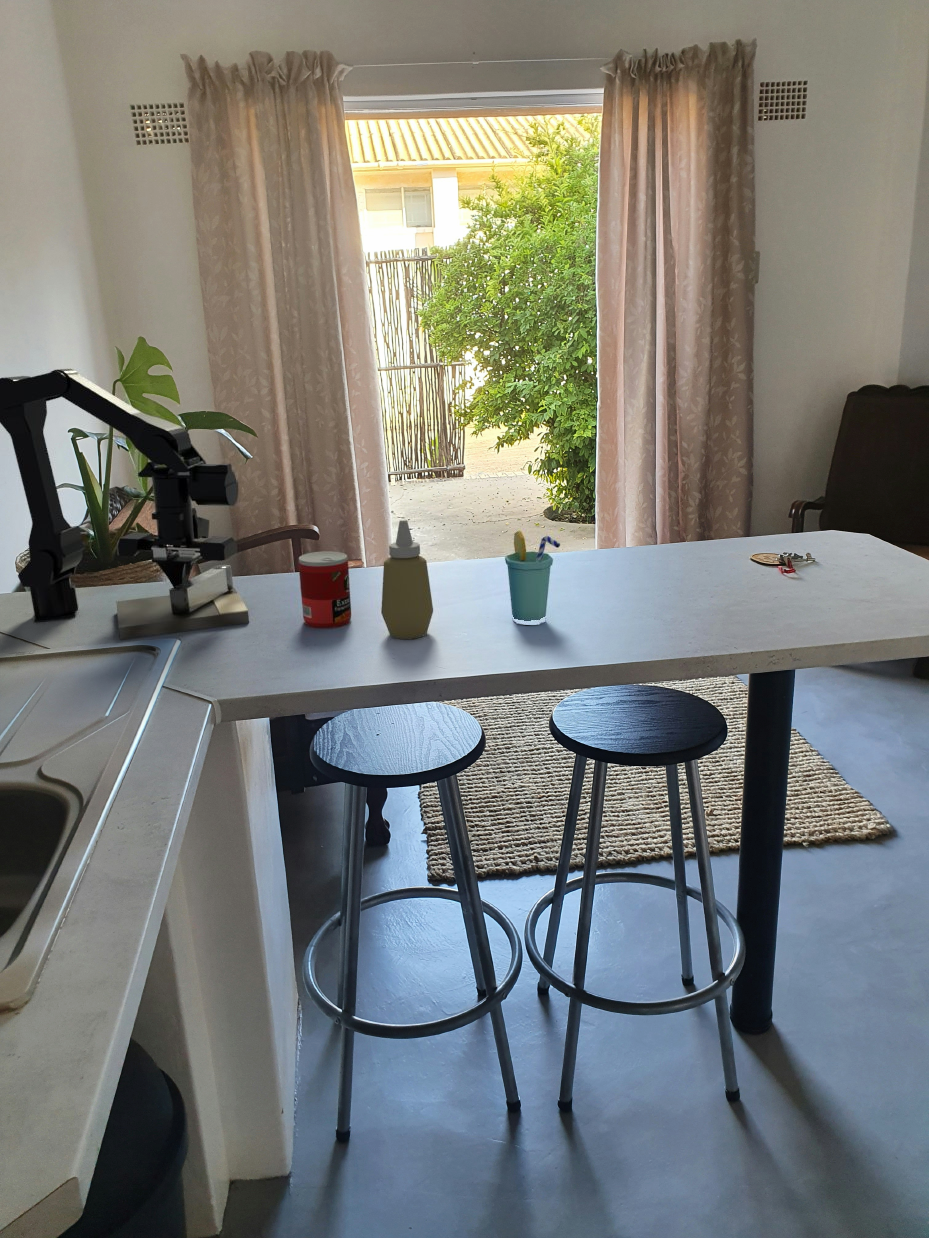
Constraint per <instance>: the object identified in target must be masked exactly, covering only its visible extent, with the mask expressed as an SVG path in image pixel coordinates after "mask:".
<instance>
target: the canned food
mask: <svg viewBox="0 0 929 1238" xmlns="http://www.w3.org/2000/svg"><path fill="white" fill-rule="evenodd" d="M349 569H350V568H349V559H348V555H347V554H346V553H343V552H340V551H329V550H328V551H327V550H326V551H314V552H307V553H305V554H302V555H300V556H299V557H298V573H299V583H300V585H299V587H300V597H301V605H302V606H301V607H302V619H303V621H304V624H305V625H306V626H308V627H311V628H316V629H333V628H338V627H339V628H340V627H342V626H345V625H347V624H348V623H350V622H349V621H351V618H352V606H351V605H352V603H351V586H350V570H349Z"/></svg>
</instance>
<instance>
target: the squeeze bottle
mask: <svg viewBox="0 0 929 1238" xmlns="http://www.w3.org/2000/svg"><path fill="white" fill-rule="evenodd" d="M420 545H421V544H420V543H418V542H416V541H413V538H412V534H411V529H410V526H409V523H408V520H407V519H401V520H399V522H398V529H397V533H396V540H395V542H392V543H390V544H389V546H388V551H389V552H388V553H389V557H387V558H386V560H385V561H384V562H383V573H382V592H381V611H380V612H381V613H380V614H381V616H382V619H383V620H384V621H383V622H384V623H385V625H386V628H387V631H388V633H389V635H390V637H393V638H395V639H400V640H410V639H412V640H413V639H417V638H422V637H424V636H425V634H427V633H428V629H429V627H430V623H431V621H432V617H433V614H434V605H433V599H432V592H431V591H432V589H431V585H430V584H431V583H430V576H429V569H428V562H427V560H426V558H424V557H423V556H422V555H420V554H421V546H420ZM423 635H424V636H423ZM421 636H422V637H421Z"/></svg>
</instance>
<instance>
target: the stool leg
mask: <svg viewBox="0 0 929 1238" xmlns="http://www.w3.org/2000/svg"><path fill="white" fill-rule="evenodd" d="M232 572H233V571H232V566H231V565H230V564H219V565H218V564H217V565H215V566H212V567H211V568H210V569H208V570H206V571H204V572H202V573H200V574H198V575H196V576H194V577H192V578H189V580H188V581H186V582H184V583H182V584H180V585H178V586H176V587H171V588H169V589H168V592H169V595H170V601H171V609H172V615H177V616H179V615H186V614H189V613H190V612H191V611H193V610H195V609H197V608H198V607H200V606H202V605H204V604H205V603H207V602H209V601H211V600H212V599H214V598H216V597H218V596H219V595H221V594H223V593H225V592H227V591H229V590H232V589H233V588H234V580H233V579H234V578H233V573H232Z"/></svg>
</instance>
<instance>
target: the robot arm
mask: <svg viewBox="0 0 929 1238" xmlns="http://www.w3.org/2000/svg"><path fill="white" fill-rule="evenodd" d="M60 398H63V399H65V400H66V401H68V402H70V403H71V404H73V405H75V406H77V407H79V409H81V410H83V411H84V412H86V413H88V414H89V415H91V416H93V417H94V418H96V419H98V420H99V421H101V422H102V423H104V424H106V425H108V426H109V427H111V428H113V429H114V430H116V431H117V432H119V433H121V434H122V435H123V436H125V437H126V438H127V439H128V440H129V441H130V443H131V444H132V446H133V447H134V448H135V450H137V451H138V452H139V453H141V454H142V455H143V456H144V457H146V458H147V459H148V460H149V461H148V462H146V463H145V466H144V467H143V468H142V469H141V470H140V471H139V472H138V473H137V476H138V477H139V478H151V480H152V483H151V484H152V490H153V491H152V492H153V501H154V510H155V511H154V512H152V513H151V519H152V521H153V520H154V521H156V530H157V536H155V535H154V534H153V533H152V532H134V531H133V532H131V533H128V534H126V535H124V536H122V537H120V538H119V539H118V541H117V543H116V552H117V555H118V556H120V557H135V556H136V555H138V553H140V551H141V550H142V551H152V556H153V557H152V558H151V559H150V560H151V563H156V564H157V566H158V567H159V568H160V570H161V571H162V572H163V574H165V576H166V577H167V579H168V580H169V583H170V584H171V585H172V588H174V587H176V586H178V585H180V584H182V583H184V582H186V581H188V580H190V575H191V572H192V571H193V567H194V565H195V563H196V561H198V560H200V559H201V558H202V559H203V560H204V561H214V562H215V561H217V562H221V561H226V560H228V559H229V558H231V557H233V556H234V555H236V554H238V546H237V545H238V543H237V541H235V539H234V538H233V536H222V535H221V536H220V535H219V536H216V535H213V536H211V537H209V535H210V534H209V532H210V522H211V521H210V520H209V519H208V518H203V517H201V516H198V514H197V509H196V507H193V506H192V502H195V504H196V505H198V506H214V507H234V506H235V505H236V504H237V502H238V497H239V481H237V478H236V474H235V472H234V471H233V470H232V463H230V462H229V463H228V462H225V463H224V462H222V463H207V461H206V460H205V458H204V457H203V456H202V455H201V454H200V453H199V451H198V450H197V449H196V447H195V446H194V445H193V444H192V441H191V437H190V433H189V432H188V431H187V430H186V429H185V428H184V427H182V426H180V425H178V424H176V423H174V422H171V421H169V420H166V419H164V418H161V417H156V416H153V415H149V414H147V413H143V412H142V411H140V410H138V409H137V408H135V407H133V406H132V405H130V404H128V403H127V402H125V401H123V400H121V399H120V398H118V397H117V396H115V395H113V394H112V393H111V392H108V391H107V390H105V389H103V388H102V387H100V386H98V385H97V384H95V383H94V382H93V381H90V380H89V379H87V378H86V377H84V376H82V375H81V373H79V372H78V371H76V370H75V369H72V368H59V369H54V370H52V371H50V372H47V373H43V374H38V375H35V376H28V375H20V376H5V377H0V424H1V426H2V427H3V428H4V429H5V431H6V432H7V433H8V434H9V437H10V439H11V442H12V446H13V450H14V454H15V458H16V463H17V467H18V470H19V474H20V475H19V476H20V479H21V483H22V486H23V491H24V495H25V498H26V502H27V506H28V510H29V514H30V519H31V528H30V533H29V537H28V542H27V543H28V554H29V560H28V562H27V563H26V565H25V566H23V569H22V570H21V571H20V572H19V573H18V574H17V577H18V579H19V581H20V583H21V585H22V587H23V588H29V592H30V597H31V604H32V609H33V622H34V623H35V622H37V623H38V622H46V621H52V620H53V621H54V620H62V619H69V618H70V619H71V618H75V617H76V615H77V612H78V611H79V603H78V595H77V590H76V585H75V584H72V583H71V581H72V580H71V576H74V575H76V571H77V566H78V565H79V563H80V562H81V560H82V559H83V555H84V552H83V550H85V549H86V546H85V544H84V542H83V539H82V534H81V531H82V530H81V527H80V526H79V525H74V526H71V525H70V524H69V522H68V521H67V519H66V518H65V517H64V515H63V510H62V505H61V501H60V497H59V492H58V490H57V488H58V487H57V484H56V480H55V476H54V473H53V468H52V464H51V460H50V455H49V451H48V445H47V443H46V438H45V434H44V429H45V424H46V419H47V415H48V407H47V402H49V401H53V400H56V399H60ZM199 539H205V540H203V541H199ZM197 540H198V541H197Z"/></svg>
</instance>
